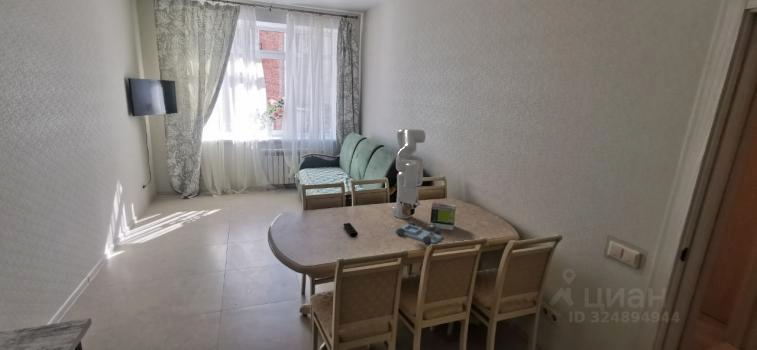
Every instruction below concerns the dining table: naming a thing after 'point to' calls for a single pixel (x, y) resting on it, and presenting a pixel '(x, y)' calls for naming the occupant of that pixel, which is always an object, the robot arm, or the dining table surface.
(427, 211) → the dining table surface
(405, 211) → the engine block
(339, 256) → the dining table surface
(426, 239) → the chassis
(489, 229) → the dining table surface
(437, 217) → the retro computer monitor
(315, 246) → the dining table surface
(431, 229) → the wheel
